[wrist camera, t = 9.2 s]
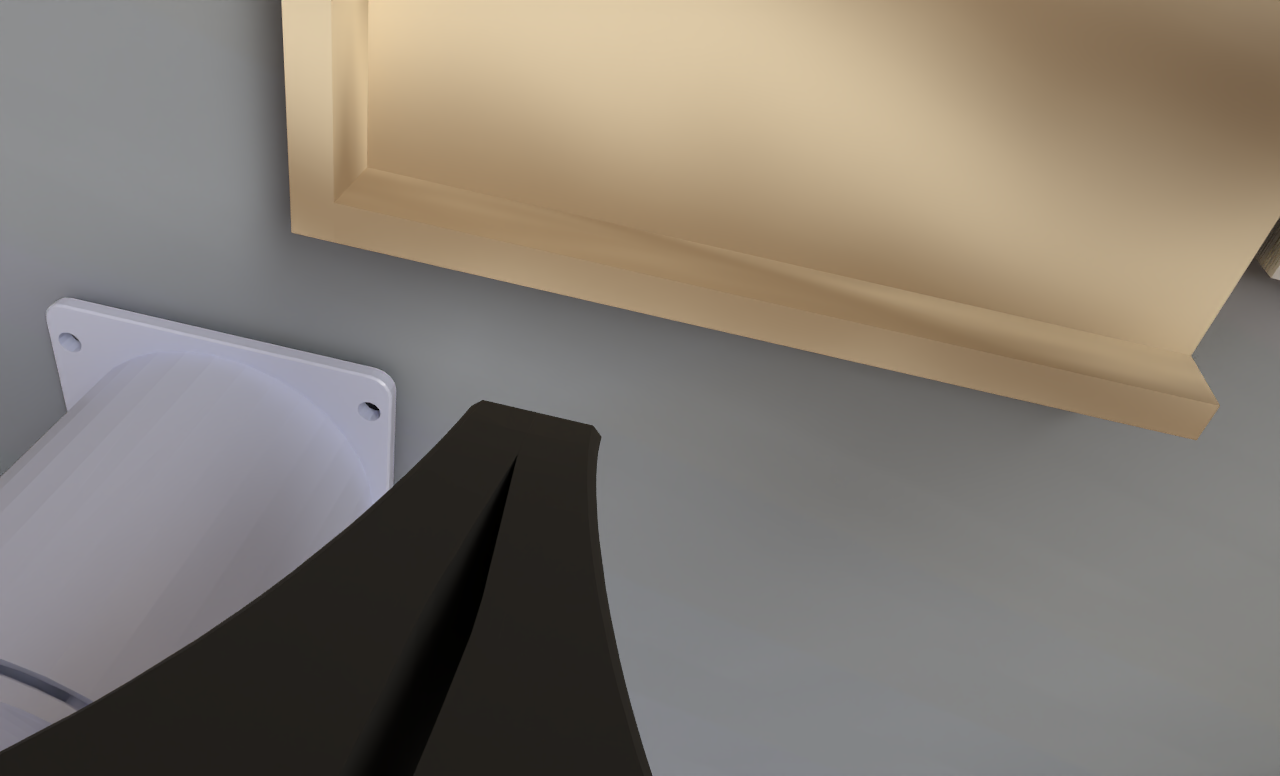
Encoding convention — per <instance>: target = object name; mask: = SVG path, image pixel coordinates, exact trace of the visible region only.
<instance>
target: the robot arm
mask: <svg viewBox="0 0 1280 776" xmlns="http://www.w3.org/2000/svg"><path fill="white" fill-rule="evenodd" d="M46 321H47V325H48V330H49V334H50V338H51V343H52V347H53V352H54V356H55V360H56V365H57V369H58V373H59V378H60V382H61V387H62V391H63V395H64V400H65V404H66V409H67V413H66V414H65V415H64V416H63V417H62V418H61V419H60V420H59V421H58V422H57V423H56V424H55V425H54V426H52V427H51V428H50V429H49V430H48V431H47V432H46V433H45V434H44V435H43V436H42V437H41V438H40V439H39V440H38V441H37V442H36V443H35V444H34V445H33V446H32V447H31V448H30V449H29V450H28V451H27V452H26V453H25V454H24V455H23V456H22V457H21V458H20V459H18V460H17V461H16V462H15V463H14V464H13V465H12V466H11V467H10V468H9V469H8V470H7V471H6V472H5V473H4V474H3V475H2V476H1V477H0V776H652V773H651V770H650V767H649V764H648V761H647V758H646V754H645V751H644V748H643V745H642V742H641V738H640V735H639V731H638V728H637V724H636V721H635V717H634V714H633V710H632V707H631V703H630V699H629V695H628V692H627V688H626V684H625V680H624V676H623V671H622V667H621V663H620V659H619V654H618V649H617V645H616V640H615V635H614V630H613V625H612V621H611V616H610V610H609V604H608V599H607V593H606V587H605V579H604V572H603V564H602V557H601V549H600V542H599V532H598V520H597V500H596V469H597V457H598V450H599V445H600V441H601V436H600V434H599V433H598V432H597V430H596V429H595V427H594V426H592V425H588V424H584V423H579V422H575V421H571V420H566V419H562V418H558V417H553V416H549V415H545V414H540V413H536V412H532V411H528V410H523V409H519V408H515V407H510V406H506V405H502V404H497V403H493V402H489V401H484V400H482V401H480V402H478V403H476V404H474V405H472V406H471V407H470V408H469V409H468V411H467V412H466V413H465V414H464V415H463V416H462V418H461V419H460V420H459V421H458V422H457V423H456V424H455V425H454V426H453V427H452V429H451V430H450V431H449V432H448V433H447V434H446V435H445V436H444V437H443V438H442V439H441V440H440V441H439V442H438V443H437V444H436V445H435V446H434V447H433V448H432V449H431V450H430V451H429V452H428V453H427V454H426V455H425V456H424V457H423V458H422V459H421V460H420V461H419V462H418V463H417V464H416V465H415V466H414V467H413V468H412V469H411V470H410V471H409V472H408V473H407V474H406V475H405V476H404V477H403V478H402V479H401V480H399V481H398V482H397V483H396V484H395V485H394V486H393V476H394V447H395V417H396V386H395V383H394V381H393V380H392V378H391V377H390V376H389V375H388V374H387V373H385V372H384V371H382V370H380V369H377V368H374V367H370V366H365V365H361V364H357V363H352V362H348V361H344V360H339V359H335V358H331V357H326V356H322V355H318V354H313V353H309V352H305V351H300V350H296V349H292V348H287V347H283V346H279V345H274V344H270V343H266V342H261V341H257V340H252V339H248V338H244V337H239V336H235V335H231V334H226V333H222V332H218V331H213V330H209V329H205V328H200V327H196V326H192V325H187V324H183V323H179V322H174V321H170V320H166V319H161V318H157V317H153V316H148V315H144V314H140V313H135V312H131V311H127V310H122V309H118V308H114V307H109V306H105V305H101V304H96V303H92V302H88V301H83V300H79V299H75V298H66V297H63V298H61V299H58V300H57V301H56V302H54V303H53V304H52V305H51V306H49V308H48V309H47V311H46ZM71 334H72V335H74V336H75V337H76V338H77V339H78V340H79V341H78V340H76V339H75V338H74V337H73V336H72V335H71ZM365 402H370V403H372V404H374V405H376V406H377V408H378V409H379V410H374V409H371V408H369V407H368V406H367V404H366V403H365Z"/></svg>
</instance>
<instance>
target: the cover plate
mask: <svg viewBox="0 0 1280 776" xmlns="http://www.w3.org/2000/svg"><path fill="white" fill-rule="evenodd" d="M1254 257H1255V259H1256V260H1257V261H1258V262H1259V264H1260V265H1261V266H1262V267H1263V269H1264V270H1265V271H1266V272H1267V274H1268V275H1269V276H1270V277H1271V278H1273V279H1277V280H1280V217H1279V219H1278V220H1277V222H1276V223H1275V225H1274V227H1273V228H1272V230H1271V231H1270V233H1269V234H1268V236H1267V238H1266V239H1265V241H1264V242H1263V244H1262V245H1261V247H1260V248H1259V250H1258V252H1257V253H1256V255H1255V256H1254Z"/></svg>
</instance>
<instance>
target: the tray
mask: <svg viewBox="0 0 1280 776" xmlns="http://www.w3.org/2000/svg"><path fill="white" fill-rule="evenodd" d="M282 23H283V46H284V69H285V93H286V116H287V139H288V162H289V185H290V208H291V231H292V233H295V234H300V235H304V236H309V237H313V238H317V239H322V240H326V241H330V242H335V243H339V244H343V245H348V246H352V247H356V248H361V249H365V250H370V251H374V252H378V253H383V254H387V255H391V256H396V257H400V258H404V259H409V260H413V261H417V262H422V263H426V264H431V265H435V266H439V267H444V268H448V269H452V270H457V271H461V272H465V273H470V274H474V275H478V276H483V277H487V278H492V279H496V280H500V281H505V282H509V283H513V284H518V285H522V286H526V287H531V288H535V289H539V290H544V291H548V292H553V293H557V294H561V295H566V296H570V297H574V298H579V299H583V300H587V301H592V302H596V303H600V304H605V305H609V306H614V307H618V308H622V309H627V310H631V311H635V312H640V313H644V314H648V315H653V316H657V317H661V318H666V319H670V320H675V321H679V322H683V323H688V324H692V325H696V326H701V327H705V328H709V329H714V330H718V331H722V332H727V333H731V334H736V335H740V336H744V337H749V338H753V339H757V340H762V341H766V342H770V343H775V344H779V345H783V346H788V347H792V348H797V349H801V350H805V351H810V352H814V353H818V354H823V355H827V356H831V357H836V358H840V359H844V360H849V361H853V362H858V363H862V364H866V365H871V366H875V367H879V368H884V369H888V370H892V371H897V372H901V373H905V374H910V375H914V376H919V377H923V378H927V379H932V380H936V381H940V382H945V383H949V384H953V385H958V386H962V387H966V388H971V389H975V390H980V391H984V392H988V393H993V394H997V395H1001V396H1006V397H1010V398H1014V399H1019V400H1023V401H1027V402H1032V403H1036V404H1041V405H1045V406H1049V407H1054V408H1058V409H1062V410H1067V411H1071V412H1075V413H1080V414H1084V415H1088V416H1093V417H1097V418H1102V419H1106V420H1110V421H1115V422H1119V423H1123V424H1128V425H1132V426H1136V427H1141V428H1145V429H1149V430H1154V431H1158V432H1163V433H1167V434H1171V435H1176V436H1180V437H1184V438H1189V439H1193V440H1197V439H1198V437H1199V436H1200V434H1201V433H1202V431H1203V430H1204V429H1205V427H1206V426H1207V424H1208V423H1209V421H1210V420H1211V418H1212V417H1213V415H1214V414H1215V413H1216V411H1217V410H1218V408H1219V407H1220V405H1219V403H1218V402H1217V400H1216V398H1215V396H1214V395H1213V393H1212V391H1211V390H1210V388H1209V386H1208V384H1207V383H1206V381H1205V379H1204V377H1203V376H1202V374H1201V372H1200V371H1199V369H1198V367H1197V365H1196V364H1195V362H1194V360H1193V358H1192V357H1191V355H1192V353H1193V352H1194V350H1195V349H1196V347H1197V345H1198V344H1199V342H1200V341H1201V339H1202V338H1203V336H1204V335H1205V333H1206V331H1207V330H1208V328H1209V327H1210V325H1211V324H1212V322H1213V320H1214V319H1215V317H1216V316H1217V314H1218V313H1219V311H1220V309H1221V308H1222V306H1223V305H1224V303H1225V302H1226V300H1227V299H1228V297H1229V295H1230V294H1231V292H1232V291H1233V289H1234V288H1235V286H1236V284H1237V283H1238V281H1239V280H1240V278H1241V277H1242V275H1243V273H1244V272H1245V270H1246V269H1247V267H1248V266H1249V264H1250V263H1251V261H1252V259H1253V258H1254V256H1255V255H1256V253H1257V252H1258V250H1259V248H1260V247H1261V245H1262V244H1263V242H1264V241H1265V239H1266V238H1267V236H1268V234H1269V233H1270V231H1271V230H1272V228H1273V227H1274V225H1275V223H1276V222H1277V220H1278V219H1279V217H1280V0H282Z"/></svg>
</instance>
